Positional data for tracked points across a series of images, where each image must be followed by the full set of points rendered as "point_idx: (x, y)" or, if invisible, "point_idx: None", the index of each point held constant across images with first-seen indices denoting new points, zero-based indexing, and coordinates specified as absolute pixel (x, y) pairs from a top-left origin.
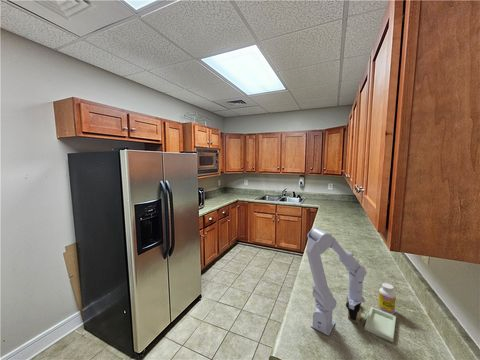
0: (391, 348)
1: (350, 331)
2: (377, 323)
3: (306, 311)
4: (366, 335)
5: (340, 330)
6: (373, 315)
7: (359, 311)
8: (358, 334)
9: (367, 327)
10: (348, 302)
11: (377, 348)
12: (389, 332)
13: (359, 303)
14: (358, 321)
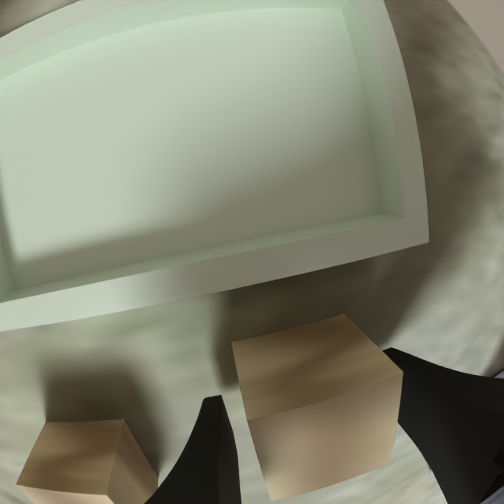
0: (417, 12)
1: (471, 303)
2: (182, 162)
3: (426, 495)
4: (444, 196)
5: (488, 345)
6: (67, 258)
7: (336, 403)
8: (469, 249)
9: (426, 212)
10: (149, 491)
11: (487, 100)
12: (239, 22)
13: (226, 498)
14: (354, 326)
